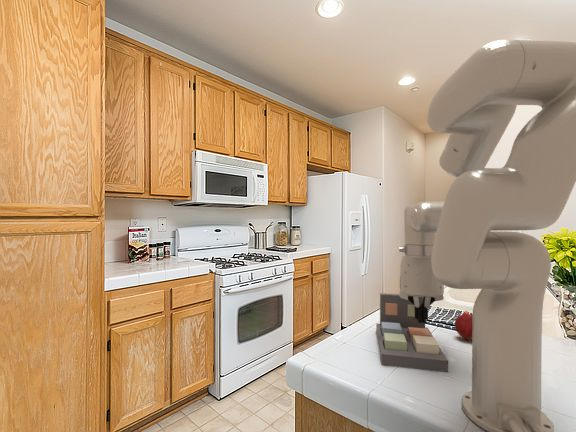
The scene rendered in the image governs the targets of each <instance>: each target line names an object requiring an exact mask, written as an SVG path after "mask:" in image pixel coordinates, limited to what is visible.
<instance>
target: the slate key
mask: <svg viewBox="0 0 576 432" xmlns="http://www.w3.org/2000/svg"><path fill="white" fill-rule="evenodd" d="M381 331H382V336H384V333H394V334H402V328H401V326H400V323H391V322H381Z"/></svg>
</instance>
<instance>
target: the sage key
mask: <svg viewBox="0 0 576 432" xmlns="http://www.w3.org/2000/svg"><path fill="white" fill-rule="evenodd" d="M384 346H385V349H388V350H398V351H407V341H406V339H405V336H404V334H394V333H384Z"/></svg>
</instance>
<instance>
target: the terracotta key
mask: <svg viewBox="0 0 576 432" xmlns="http://www.w3.org/2000/svg"><path fill="white" fill-rule="evenodd" d="M426 328H427V327H426ZM426 328H413V327H408V335H409V338H410V339H413V335H416V336H428V337H431V335H430V333H429V331H428V330H427V329H426Z"/></svg>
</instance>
